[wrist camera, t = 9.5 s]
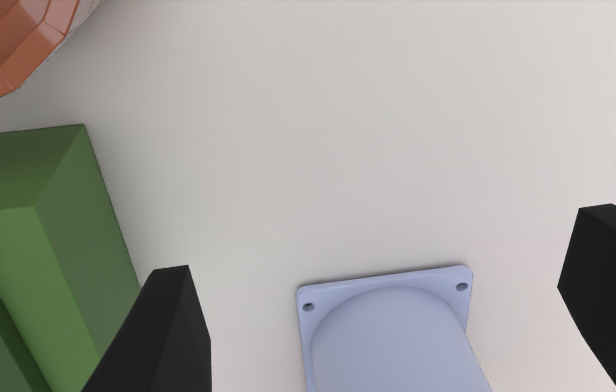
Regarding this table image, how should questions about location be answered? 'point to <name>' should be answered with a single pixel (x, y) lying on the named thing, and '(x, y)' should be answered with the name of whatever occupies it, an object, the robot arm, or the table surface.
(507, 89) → the table surface
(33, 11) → the bowl
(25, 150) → the green block
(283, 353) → the table surface
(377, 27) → the table surface
